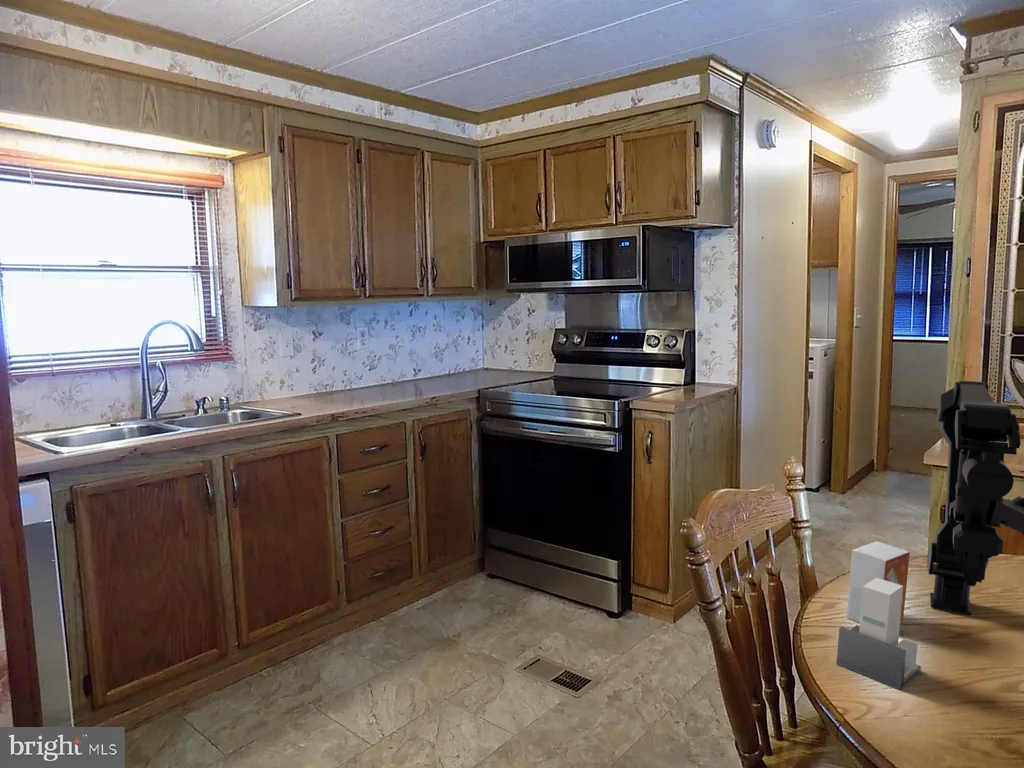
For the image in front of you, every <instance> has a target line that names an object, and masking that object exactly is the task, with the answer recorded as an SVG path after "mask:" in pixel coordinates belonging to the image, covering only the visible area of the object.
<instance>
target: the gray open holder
mask: <svg viewBox="0 0 1024 768" xmlns="http://www.w3.org/2000/svg"><path fill="white" fill-rule="evenodd" d="M859 627H860V625H858V624H857V625H854V626H853V627H852V628H850V629H849V628H846V627H843V626H841V627H839V629H838V640H837V641H838V642H837V651H836V652H837V653H836V654H837V655H836V665H837V666H839V667H841V668H844V669H846V670H849V671H850V672H851V671H852V672H853V673H856V674H857V675H858V674H859V675H861V676H863V677H865V678H869V679H870V680H873V681H875V682H879V683H881V684H883V685H885V686H888V687H890V688H893V689H896V690H897V691H901V690H902V689H904V688H905V687H906V686H907V685H908V684H909V683H910V682H911V681H913V679H914V678H916V676H917V675H919V673H920V672H921V668H922V666H920V665H918V664H917V656H918V645H919V644H918V643H917V642H913V641H910V640H907V639H906V638H903V639H902V640H901V641H900V642H898V644H897V645H896V646H893V645H890V644H888V643H885V642H882V641H879V640H877V639H874V638H871V637H869V636H866V635H863V634H860V633H859Z"/></svg>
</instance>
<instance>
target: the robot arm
mask: <svg viewBox="0 0 1024 768" xmlns="http://www.w3.org/2000/svg"><path fill="white" fill-rule="evenodd" d="M989 388H990V387H989V384H988V383H985V382H984V381H972V380H959V381H955V382H954V385H953V387H952V388H951V389H949V390H948V391H946V392H944V393H942V394H941V395H940V398H939V399H938V405H937V414H936V421H937V423H940V428H939V429H940V434H941V435H942V437H943V439H944V440H945V442H946V443H947V445H948V456H947V458H948V459H947V478H946V499H945V517H944V519H945V520H944V523H943V524H942V525H941V527H940V528H939V529H938V530H937V531H936V532H935V534H934V541H933V542H930V544H929V549H928V552H927V556H926V558H927V560H926V567H927V573H928V575H933V576H934V584H933V592H930V593H929V598H930V600H929V601H930V608H931V609H935V610H936V609H937V610H942V611H947V612H951V613H957V614H961V615H967V616H972V615H973V609H972V604H971V600H970V598H971V597H970V596H971V595H970V594H971V587H976V585H977V582H978V583H982V581H984V580H985V578H986V577H985V576H986V571H987V568H988V564H989V559H991V558H992V557H997V556H999V555H1000V554H1003V548H1004V539H1003V536H1002V534H1001V533H1000V532H999V531H998V530H997V529H996V528H1001V524H1002V525H1004V526H1006V527H1008V528H1010V529H1012V530H1014V531H1017V532H1019V533H1021V534H1022V535H1023V536H1024V497H1022V496H1020V495H1019V496H1017V497H1015V498H1014V499H1008V498H1007V499H1006V498H1004V497H1005V496H1007V495H1008V494H1009V493H1010V492H1011V491H1012V489H1013V487H1014V482H1015V481H1014V480H1015V479H1014V476H1013V474H1012V472H1011V471H1010V468H1009V467H1008V466H1007V465H1006V464H1005V455H1015V456H1016V455H1017V450H1018V449H1020V446H1021V433H1020V422H1019V421H1018V419H1017V415H1016V414H1015V413H1012V409H1011V408H1010V407H1009V405H1006V404H1005V403H999V402H994V398H993V397H992V396H991V394H990V393H989Z"/></svg>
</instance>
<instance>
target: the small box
mask: <svg viewBox="0 0 1024 768" xmlns="http://www.w3.org/2000/svg"><path fill="white" fill-rule="evenodd" d="M910 553H911V552H910V550H909V551H908V550H906V549H902V548H900V547H896V546H894V545H889V544H887V543H883V542H881V541H877V540H876V541H874V542H871V543H868V544H864V545H861V546H860V547H857V548H854V549H852V550H851V561H850V573H849V585H848V587H849V588H848V589H849V590H848V596H847V597H848V599H847V600H848V601H847V609H846V611H847V612H846V618H847V619H849V620H852V621H854V622H857V623H859V624H860V614H861V601H862V588H863V586H864V585H866V584H867V583H869V582H870V581H872V580H874V579H875V578H879V579H882V580H886V581H889V582H892V583H896V584H899V585H902V586H903V594H902V606H901V617H900V622H902V621H903V620H904V617H905V605H906V596H907V595H906V594H907V584H908V576H909V575H908V573H909V563H910Z"/></svg>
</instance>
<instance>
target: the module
mask: <svg viewBox="0 0 1024 768" xmlns="http://www.w3.org/2000/svg"><path fill="white" fill-rule="evenodd" d="M902 594H903V586H902V585H899V584H896V583H892V582H889V581H886V580H882V579H879V578H875V579H874V580H872V581H870V582H869V583H867V584H866V585H864V586H863V588H862V601H861V614H860V623H859V626H860V627H859V633H860V634H863V635H866V636H869V637H871V638H874V639H877V640H879V641H882V642H885V643H888V644H890V645H893V646H896V645H897V644H898V643H899V641H900V639H899V637H900V627H901V621H900V617H901V606H902Z"/></svg>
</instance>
